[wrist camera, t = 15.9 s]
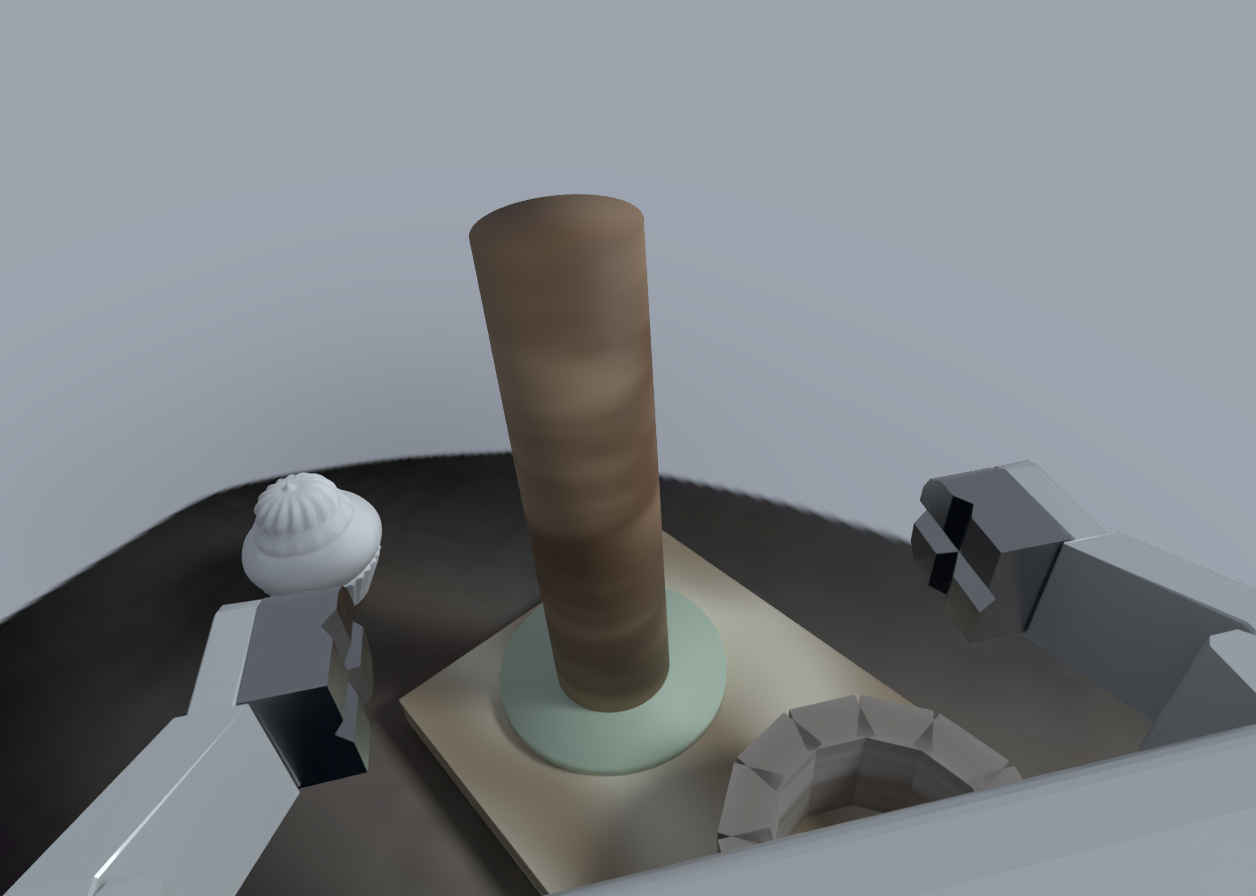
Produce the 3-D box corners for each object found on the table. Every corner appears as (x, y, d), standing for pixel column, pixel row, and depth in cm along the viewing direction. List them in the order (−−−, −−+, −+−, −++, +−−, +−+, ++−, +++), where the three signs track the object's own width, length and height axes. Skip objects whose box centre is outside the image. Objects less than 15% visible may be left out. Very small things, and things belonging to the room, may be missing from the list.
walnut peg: (606, 735, 28) (537, 279, 17) (534, 662, 31) (436, 230, 20) (693, 663, 31) (680, 219, 20) (618, 601, 33) (571, 183, 23)
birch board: (870, 1322, 18) (904, 1290, 15) (407, 721, 32) (371, 634, 28) (1126, 885, 25) (1188, 795, 22) (656, 547, 39) (650, 460, 35)
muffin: (393, 632, 36) (349, 519, 31) (256, 653, 35) (193, 542, 31) (404, 539, 40) (368, 431, 36) (285, 557, 40) (234, 449, 36)
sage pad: (600, 828, 26) (598, 821, 26) (459, 670, 32) (456, 662, 31) (774, 671, 31) (774, 663, 30) (623, 556, 36) (622, 549, 36)
